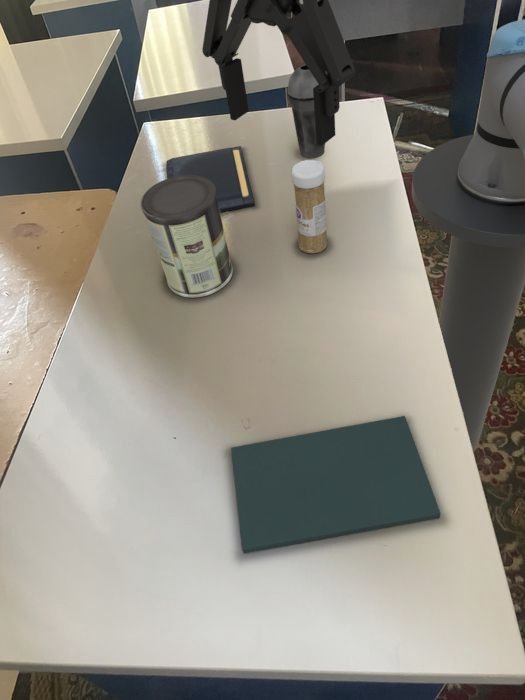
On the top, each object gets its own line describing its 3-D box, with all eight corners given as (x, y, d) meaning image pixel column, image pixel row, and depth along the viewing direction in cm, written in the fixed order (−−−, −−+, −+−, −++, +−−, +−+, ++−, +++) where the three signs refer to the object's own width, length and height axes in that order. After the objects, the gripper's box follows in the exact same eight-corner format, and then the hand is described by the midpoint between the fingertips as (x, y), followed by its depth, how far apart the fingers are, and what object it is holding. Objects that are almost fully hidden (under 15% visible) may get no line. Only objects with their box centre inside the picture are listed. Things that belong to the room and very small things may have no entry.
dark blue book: (164, 153, 108) (243, 139, 108) (167, 162, 110) (244, 148, 110) (164, 213, 95) (253, 198, 95) (167, 222, 97) (255, 207, 96)
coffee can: (204, 244, 91) (184, 166, 81) (246, 271, 86) (231, 190, 75) (153, 278, 87) (125, 200, 77) (194, 308, 82) (170, 228, 71)
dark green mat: (404, 420, 65) (404, 415, 64) (439, 518, 57) (441, 513, 56) (232, 451, 65) (230, 447, 64) (243, 553, 57) (242, 549, 56)
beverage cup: (286, 149, 107) (274, 37, 92) (321, 138, 109) (315, 25, 94) (303, 167, 103) (293, 51, 88) (339, 154, 104) (335, 38, 89)
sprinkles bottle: (292, 246, 88) (284, 168, 78) (314, 232, 90) (309, 154, 80) (312, 259, 85) (306, 180, 75) (334, 244, 87) (331, 166, 77)
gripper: (142, -79, 58) (189, 118, 74) (343, -67, 46) (348, 167, 62) (192, -100, 62) (227, 94, 77) (393, -93, 49) (385, 136, 65)
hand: (280, 127), depth 70 cm, fingers open, 13 cm apart
